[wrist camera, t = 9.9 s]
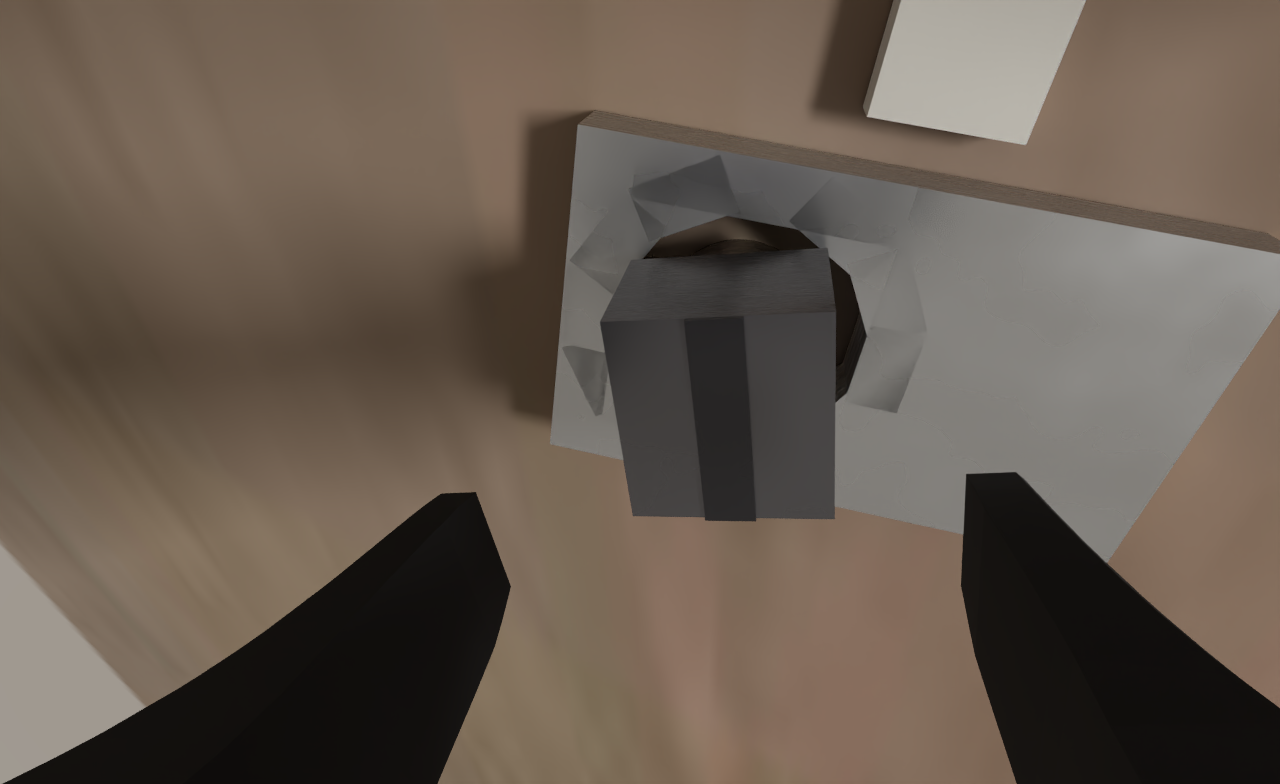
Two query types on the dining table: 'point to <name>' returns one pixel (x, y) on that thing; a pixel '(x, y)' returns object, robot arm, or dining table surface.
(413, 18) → the dining table surface
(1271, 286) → the flange plate
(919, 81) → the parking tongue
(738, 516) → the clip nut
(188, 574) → the dining table surface
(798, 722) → the dining table surface
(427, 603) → the robot arm
